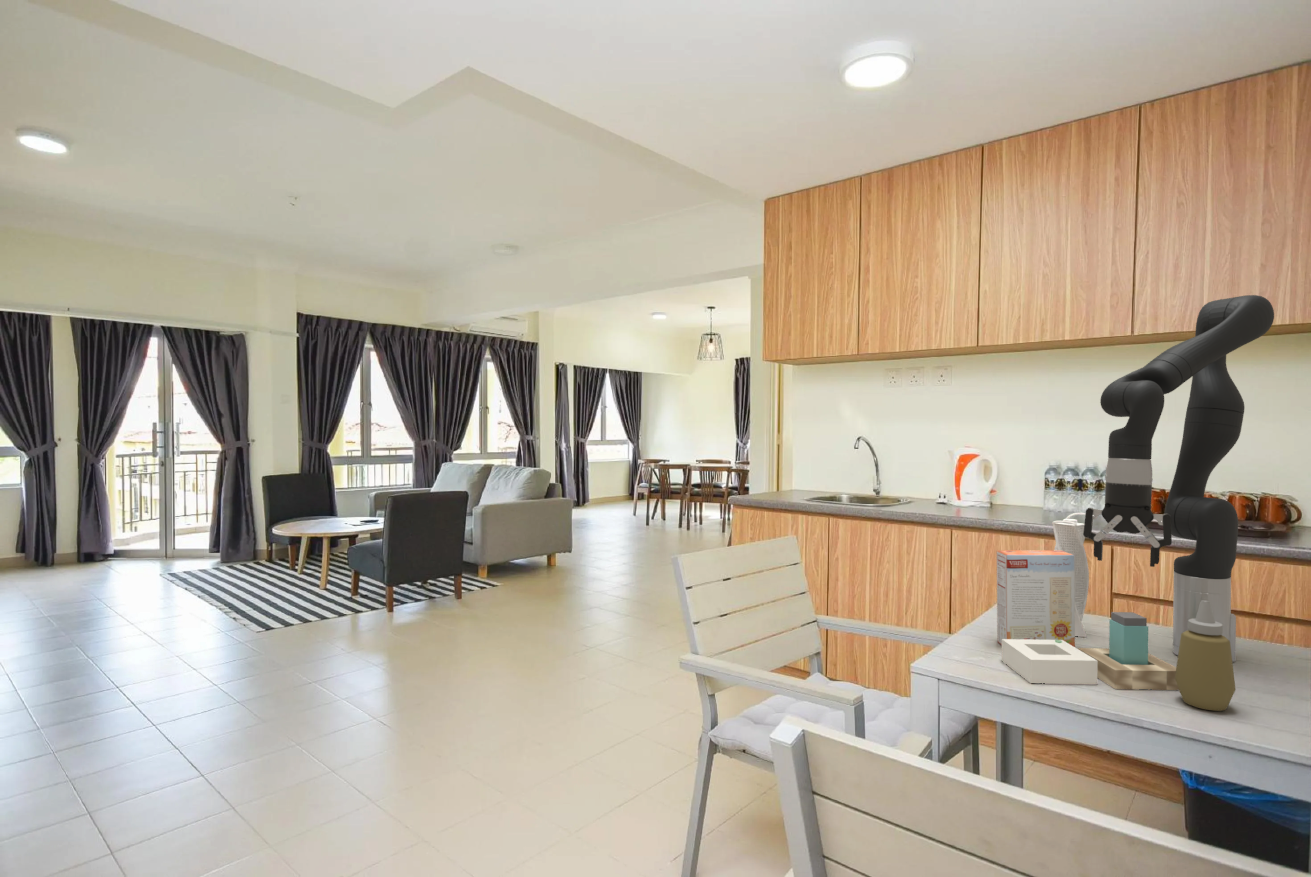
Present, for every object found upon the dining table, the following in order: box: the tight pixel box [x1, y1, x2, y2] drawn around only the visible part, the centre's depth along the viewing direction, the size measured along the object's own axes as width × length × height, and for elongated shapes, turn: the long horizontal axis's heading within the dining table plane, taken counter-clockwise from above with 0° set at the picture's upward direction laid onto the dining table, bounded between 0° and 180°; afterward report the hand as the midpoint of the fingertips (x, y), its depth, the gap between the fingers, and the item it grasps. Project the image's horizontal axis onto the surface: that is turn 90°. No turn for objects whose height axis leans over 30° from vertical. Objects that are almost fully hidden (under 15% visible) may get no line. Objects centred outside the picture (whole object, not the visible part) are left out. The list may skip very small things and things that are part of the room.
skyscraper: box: [1051, 512, 1090, 638], centre depth 154 cm, size 8×8×28 cm
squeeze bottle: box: [1175, 600, 1237, 712], centre depth 115 cm, size 8×8×18 cm
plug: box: [1108, 611, 1149, 665], centre depth 127 cm, size 4×4×12 cm
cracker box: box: [996, 549, 1076, 648], centre depth 145 cm, size 14×6×21 cm, turn 84°
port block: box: [1001, 639, 1098, 686], centre depth 130 cm, size 12×12×5 cm
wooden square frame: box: [1077, 647, 1179, 691], centre depth 128 cm, size 12×12×4 cm
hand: (1125, 563), depth 132 cm, fingers open, 8 cm apart
